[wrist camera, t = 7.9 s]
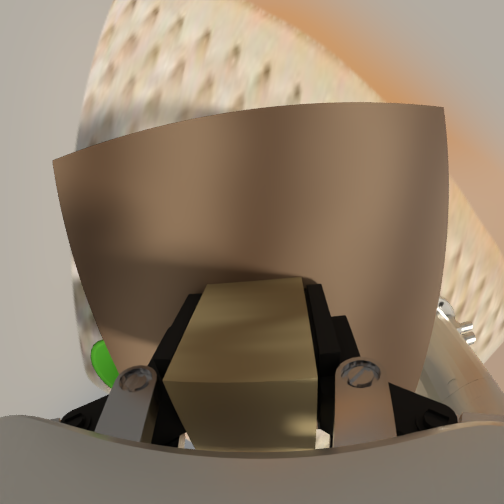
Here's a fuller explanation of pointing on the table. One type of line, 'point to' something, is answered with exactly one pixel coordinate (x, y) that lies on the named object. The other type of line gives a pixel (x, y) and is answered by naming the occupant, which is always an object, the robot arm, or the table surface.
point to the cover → (262, 253)
